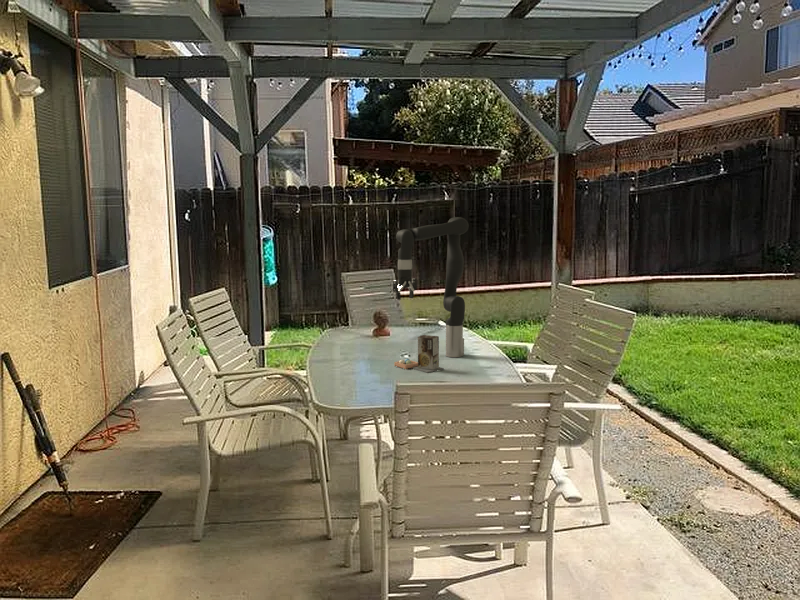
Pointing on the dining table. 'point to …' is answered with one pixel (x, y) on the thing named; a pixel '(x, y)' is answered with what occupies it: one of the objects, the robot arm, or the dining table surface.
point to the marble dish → (414, 364)
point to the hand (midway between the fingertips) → (404, 298)
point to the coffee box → (428, 352)
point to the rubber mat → (427, 369)
